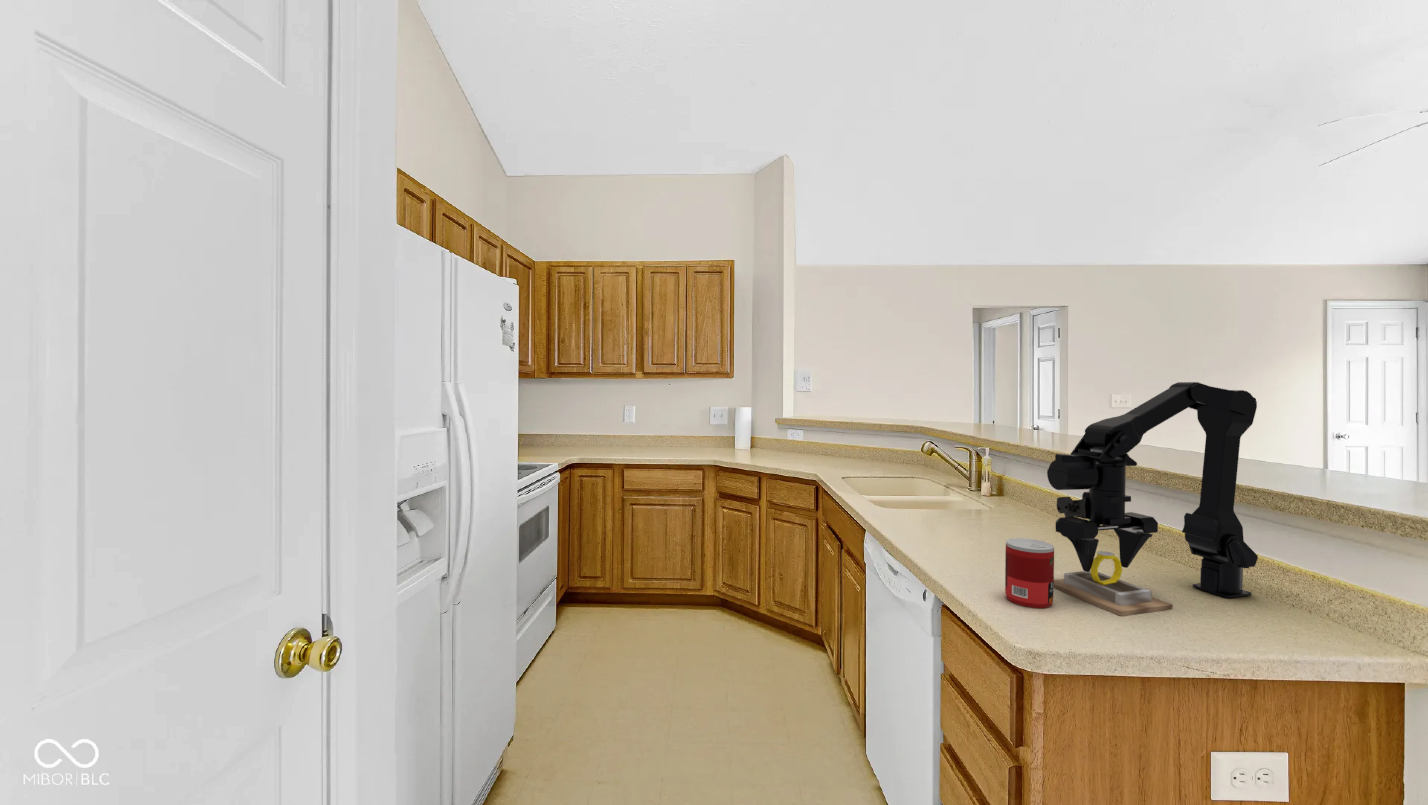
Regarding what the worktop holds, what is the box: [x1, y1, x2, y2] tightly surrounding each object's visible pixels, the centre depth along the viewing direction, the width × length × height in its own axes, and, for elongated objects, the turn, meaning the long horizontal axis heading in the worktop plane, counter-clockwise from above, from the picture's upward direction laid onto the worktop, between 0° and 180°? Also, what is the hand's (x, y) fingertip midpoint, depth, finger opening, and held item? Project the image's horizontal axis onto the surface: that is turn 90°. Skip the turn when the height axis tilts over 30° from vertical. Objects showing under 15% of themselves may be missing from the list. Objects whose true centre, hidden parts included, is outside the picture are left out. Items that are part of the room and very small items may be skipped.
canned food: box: [1004, 537, 1055, 609], centre depth 106 cm, size 8×8×11 cm
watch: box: [1090, 550, 1123, 585], centre depth 107 cm, size 6×3×6 cm, turn 102°
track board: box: [1054, 569, 1173, 617], centre depth 108 cm, size 12×16×3 cm
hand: (1105, 569), depth 108 cm, fingers open, 9 cm apart
